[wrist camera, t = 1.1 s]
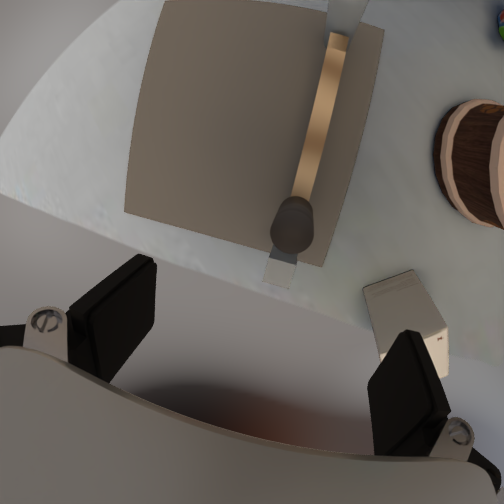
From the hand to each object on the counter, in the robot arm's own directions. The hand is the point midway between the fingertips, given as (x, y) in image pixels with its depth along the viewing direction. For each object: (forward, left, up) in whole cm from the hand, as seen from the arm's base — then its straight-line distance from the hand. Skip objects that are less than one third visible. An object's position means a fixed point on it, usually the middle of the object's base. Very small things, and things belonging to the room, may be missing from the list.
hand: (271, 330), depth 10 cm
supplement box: (+9, +16, -24) cm, 31 cm away
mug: (-13, +23, -24) cm, 36 cm away
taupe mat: (-8, -8, -24) cm, 27 cm away
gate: (-7, 0, -23) cm, 24 cm away
